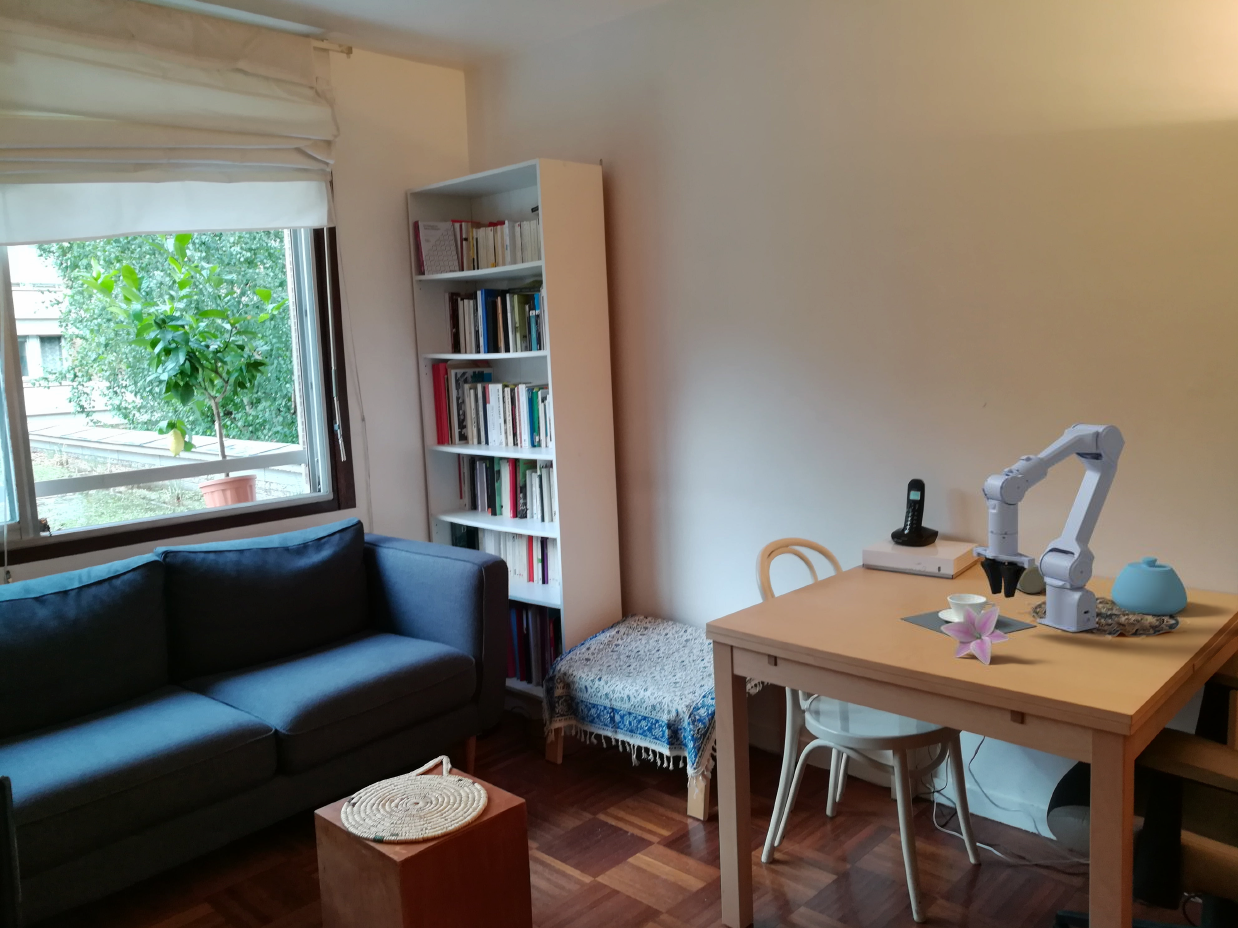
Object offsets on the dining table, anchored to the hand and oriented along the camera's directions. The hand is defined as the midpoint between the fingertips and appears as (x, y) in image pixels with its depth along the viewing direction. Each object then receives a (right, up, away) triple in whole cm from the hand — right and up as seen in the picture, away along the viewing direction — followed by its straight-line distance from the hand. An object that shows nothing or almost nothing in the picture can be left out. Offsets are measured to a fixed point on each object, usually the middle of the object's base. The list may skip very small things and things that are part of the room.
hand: (1003, 595), depth 194 cm
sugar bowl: (+40, -5, +16) cm, 43 cm away
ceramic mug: (+22, -4, +35) cm, 41 cm away
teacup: (-4, -8, +10) cm, 13 cm away
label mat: (-4, -8, +10) cm, 13 cm away
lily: (-10, -11, -12) cm, 19 cm away
